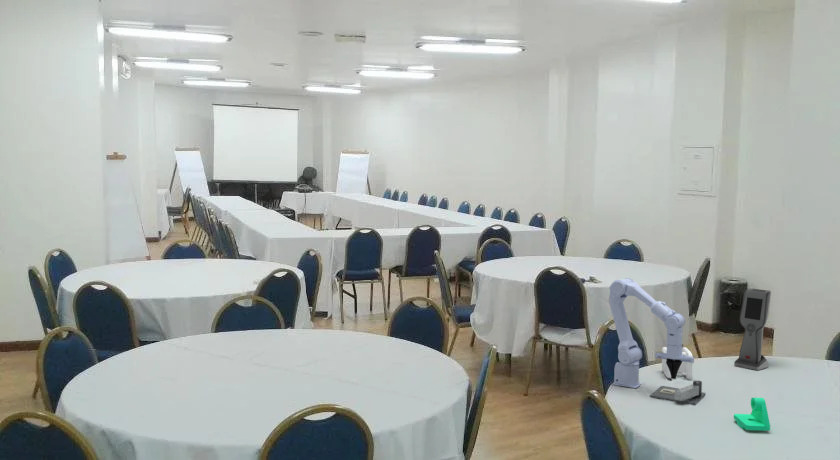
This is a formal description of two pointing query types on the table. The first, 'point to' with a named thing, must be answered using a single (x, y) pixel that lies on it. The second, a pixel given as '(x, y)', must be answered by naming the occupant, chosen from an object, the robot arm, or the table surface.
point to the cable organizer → (684, 367)
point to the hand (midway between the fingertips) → (673, 378)
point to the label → (667, 391)
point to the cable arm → (689, 391)
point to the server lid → (671, 397)
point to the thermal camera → (753, 328)
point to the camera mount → (754, 416)
